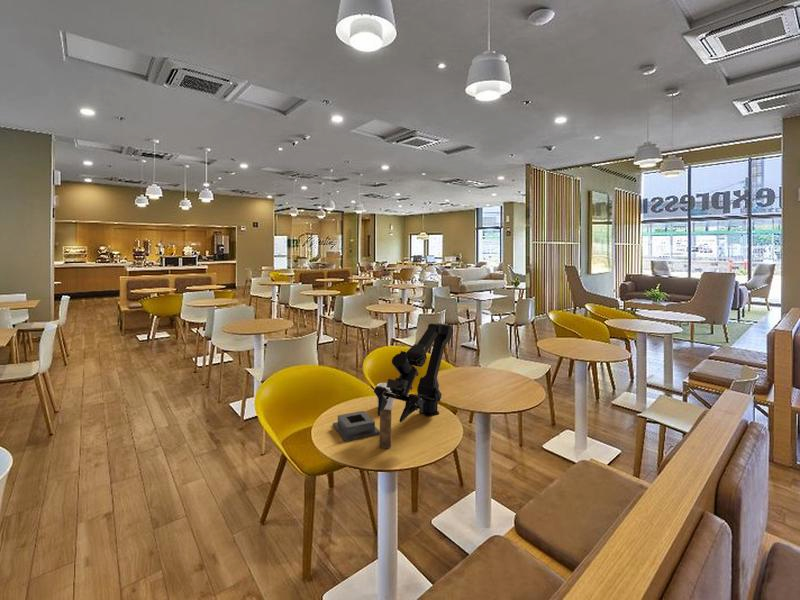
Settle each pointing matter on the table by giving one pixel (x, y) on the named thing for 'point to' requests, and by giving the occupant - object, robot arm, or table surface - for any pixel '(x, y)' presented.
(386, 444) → the peg
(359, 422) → the socket
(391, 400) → the white cup
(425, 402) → the robot arm
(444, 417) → the table surface
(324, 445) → the table surface
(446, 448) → the table surface
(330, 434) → the table surface
